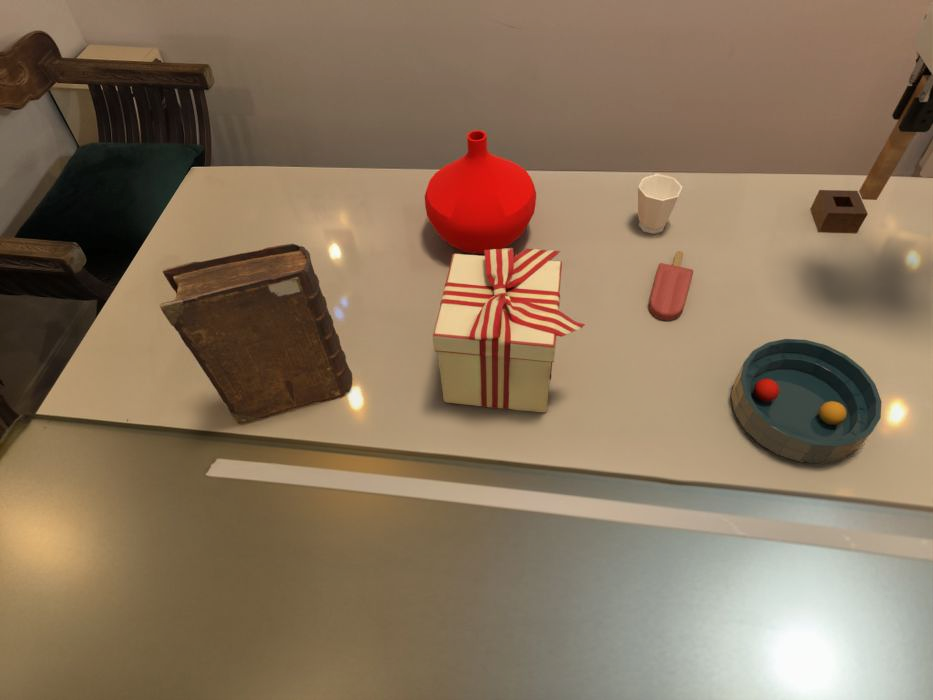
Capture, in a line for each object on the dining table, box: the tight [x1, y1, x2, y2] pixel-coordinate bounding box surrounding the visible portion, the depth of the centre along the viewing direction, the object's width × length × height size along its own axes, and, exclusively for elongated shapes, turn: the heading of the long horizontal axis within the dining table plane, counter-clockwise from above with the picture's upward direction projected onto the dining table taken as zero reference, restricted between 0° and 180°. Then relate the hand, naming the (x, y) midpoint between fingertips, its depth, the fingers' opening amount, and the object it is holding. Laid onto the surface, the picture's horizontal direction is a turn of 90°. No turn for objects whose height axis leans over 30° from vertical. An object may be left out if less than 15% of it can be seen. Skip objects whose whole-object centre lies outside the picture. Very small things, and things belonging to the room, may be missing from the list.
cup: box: [637, 173, 683, 235], centre depth 102 cm, size 7×10×8 cm
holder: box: [810, 189, 869, 234], centre depth 101 cm, size 6×6×4 cm
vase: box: [424, 129, 537, 255], centre depth 98 cm, size 18×18×19 cm
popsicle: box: [648, 250, 694, 321], centre depth 95 cm, size 5×2×15 cm
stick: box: [858, 75, 931, 201], centre depth 74 cm, size 2×2×16 cm
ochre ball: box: [819, 401, 847, 425], centre depth 77 cm, size 3×3×3 cm
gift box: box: [432, 247, 586, 413], centre depth 81 cm, size 17×18×17 cm
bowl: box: [730, 338, 883, 465], centre depth 78 cm, size 16×16×5 cm
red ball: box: [754, 379, 779, 401], centre depth 80 cm, size 3×3×3 cm
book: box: [159, 243, 354, 425], centre depth 77 cm, size 17×7×25 cm, turn 100°
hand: (909, 123), depth 72 cm, fingers closed on stick, 1 cm apart
